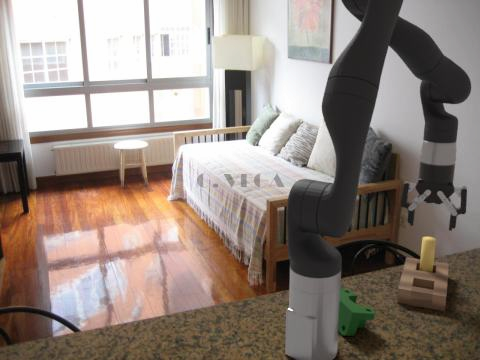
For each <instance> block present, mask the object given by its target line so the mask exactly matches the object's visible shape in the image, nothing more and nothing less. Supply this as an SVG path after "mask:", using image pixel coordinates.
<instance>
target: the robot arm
mask: <svg viewBox="0 0 480 360" xmlns="http://www.w3.org/2000/svg"><path fill="white" fill-rule="evenodd" d="M340 1H341V3H342V4H343V6H344V8H345V9H346V10H347V11H348V13H350V14H351V15H352V16H353V17H354V18H355V19H356V20H358V21H359V22H360V23H361V24H360V25H359V28H358V29H357V31H356V33H355V34H354V36H353V37H352V39H351V40H350V41H349V43H347V45H346V46H345V48H344V49H343V51H342V52H341V53H340V54H339V56H338V57H337V59H336V60H335V62H334V64H333V65H332V66H331V68H330V70H329V73H328V77H327V80H326V85H325V89H324V92H323V97H322V101H321V113H322V117H323V120H324V123H325V127H326V128H327V132H328V134H329V138H330V139H331V144H332V145H333V149H334V154H335V158H336V159H335V175H334V180H333V182H327V181H320V180H315V179H309V178H303V179H299V180H296V181H295V182H294V184H293V185H292V186H291V189H290V190H289V193H288V196H287V201H286V202H287V203H286V231H287V254H288V258H289V288H288V289H289V290H288V291H289V294H288V295H289V299H288V300H289V302H288V308H287V309H286V310H285V349H284V350H285V351H284V352H285V353H284V354H285V355H287V356H288V357H290V358H293V359H294V360H334V359H335V358H336V356H337V354H338V342H339V340H338V339H339V331H338V323H339V303H340V288H341V283H342V282H341V281H342V280H341V278H342V267H343V266H342V265H343V264H342V263H343V261H342V260H343V259H342V254H341V252H340V251H339V250H338V248H336V247H334V245H332V244H330V243H328V242H327V241H326V240H325V239H324V238H323V237H321V236H325V237H329V238H334V239H342V237H344V236H345V235H346V234H347V233H348V231H349V229H350V227H351V224H352V221H353V219H354V213H355V208H356V202H357V197H358V189H359V183H360V175H361V171H362V170H361V168H362V162H363V157H364V152H365V148H366V143H367V140H368V139H367V138H368V134H369V130H370V127H371V123H372V119H373V115H374V111H375V107H376V104H377V103H376V101H377V99H378V94H379V89H380V84H381V79H382V73H383V70H384V66H385V63H386V62H385V61H386V57H387V53H388V51H389V47H390V48H391V49H392V51H394V53H395V54H397V56H398V57H399V58H400V60H401V61H402V62H403V63H404V64H405V66H406V67H407V68H408V69H409V71H410V72H411V73H412V75H413V76H414V77H416V78H417V79H418V80H420V86H419V97H420V102H421V108H422V114H423V118H424V120H423V121H424V126H423V127H424V128H423V138H422V143H421V145H422V146H421V148H420V155H419V158H420V159H419V170H418V179H417V182H411V181H409V180H406V181H405V182H404V184H403V188H402V195H401V200H400V207H401V208H405V209H407V211H408V212H407V224H410V225H409V226H411V227H414V224H415V216H416V208H417V207H418V206H419V205H420V204H421V203H423V202H424V203H426V204H435V205H441V204H444V206H445V208H446V209H447V210H448V211H449V213H450V215H449V216H450V217H449V224H448V231H451V232H452V231H453V229H454V230H455V228H456V227H457V219H458V216H459V215H465V214H466V213H467V203H468V202H467V201H468V187H467V186H461V187H457V186H454V176H455V167H456V161H457V140H458V139H457V138H458V132H459V131H458V130H459V119H458V117H457V116H455V115H453V114H452V113H449V112H447V111H446V109H445V106H444V104H447V105H459V104H462V103H464V102H465V101H466V100H467V99H468V98H469V96H470V95H471V93H472V81H471V79H470V77H469V75H468V74H467V72H466V71H465V70H464V69H463V68H462V67H461V66H459V64H457V63H455V62H454V61H453V60H452V59H451V58H449V57H447V56H446V55H445V54H444V53H443V52H442V50H441V49H440V48H439V46H438V44H437V43H436V41H434V39H433V37H431V35H430V34H429V33H428V32H426V31H425V30H424V29H422V28H421V27H420V26H418V25H416V24H414V23H412V22H410V21H409V20H408V19H407V20H406V19H405V18H403V17H401V16H400V12H401V9H402V6H403V3H404V0H340ZM413 189H415V190H416V192H417V193H418V195H417V196H416V197H415V198H414V199H413V200H412V201H411V202H409V201H408V198H409V193H411V192H412V191H413ZM454 193H456V196H457V197H458V198H460V207H456V205H455V204H454V203H453V201H452V199H451V198H450V197H452V195H453V194H454Z"/></svg>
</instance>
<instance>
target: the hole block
mask: <svg viewBox="0 0 480 360" xmlns="http://www.w3.org/2000/svg"><path fill="white" fill-rule="evenodd" d="M420 259H421V258H420ZM420 259H419V258H413V257H406V258H405V261H404V265H403V268H402V271H401V275H400V276H401V277H400V280H399V284H398V287H397V288H398V289H397V297H396V299H397V300H396V303H397V304H403V305H409V306H412V307H413V306H414V307H420V308H425V309H430V310H431V309H432V310H435V311H436V310H437V311H440V312H442V311H443V312H445V311H446V304H447V294H448V293H447V292H448V282H449V280H448V279H449V264H450V263H447V262H439V261H434V263H433V272H425V271H419V269H420Z"/></svg>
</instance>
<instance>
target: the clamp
mask: <svg viewBox="0 0 480 360" xmlns="http://www.w3.org/2000/svg"><path fill="white" fill-rule="evenodd" d="M357 299H358V295H357V294H356V293H355V292H353V291H352V290H350V289H347V288H341V287H340V303H339V323H338V333H339V334H340V335H342V336H345V337H346V336H349V337H353V336H355V335H356V333H357V330H358V328H360V329H362V328H365V327H366V323H367V321H373V320H374V319H375V315H376V311H375V310H374V309H373V308H372V307H370V305H369V306H368V305H361V304H358V303H356V302H357Z"/></svg>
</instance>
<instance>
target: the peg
mask: <svg viewBox="0 0 480 360" xmlns="http://www.w3.org/2000/svg"><path fill="white" fill-rule="evenodd" d="M421 239H422V241H421V249H420V250H421V252H420V269H419V271H425V272H433V263H434V262H435V261H434V260H435V251H436V242H437V239H436V238H435V237H434V236H433V237H432V236H423V237H422V238H421Z"/></svg>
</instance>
